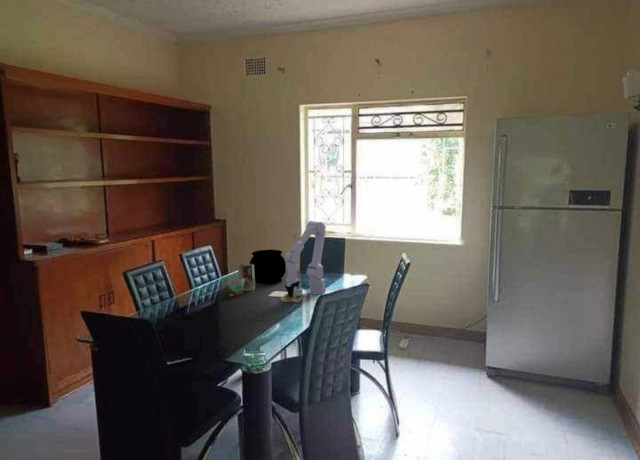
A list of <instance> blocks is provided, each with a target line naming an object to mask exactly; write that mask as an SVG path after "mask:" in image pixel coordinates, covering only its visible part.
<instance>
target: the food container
mask: <svg viewBox="0 0 640 460" xmlns="http://www.w3.org/2000/svg"><path fill="white" fill-rule="evenodd" d="M244 282H245V280H244V278H243V277H241V279H239V278H237V279H233V280H227V282H226V285H227V287H228V288H227V289H228V294H229V297H231V298H237V297H241V296H243V295H244V291H243V288H244Z"/></svg>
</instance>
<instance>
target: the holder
mask: <svg viewBox="0 0 640 460" xmlns="http://www.w3.org/2000/svg"><path fill="white" fill-rule="evenodd" d="M287 297H289V295H288V293H287V294H285V295H284V296H283V297H280V299H279V301H280V302H286V303H300V302H301V301H303V300H304V299H305V297H306V294H305V293H300V295H299V296H297V299H289V298H287Z"/></svg>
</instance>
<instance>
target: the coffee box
mask: <svg viewBox="0 0 640 460" xmlns="http://www.w3.org/2000/svg"><path fill="white" fill-rule="evenodd" d="M237 268H238V269H237V270H238V279H241V277H243V278H244V280H245V282H244V288H243V292H247V291H249V292H252V291H255V289H256V282H255V272H254V264H250V263H243V264H242V263H240V264H239V265H238V267H237Z"/></svg>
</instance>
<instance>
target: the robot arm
mask: <svg viewBox="0 0 640 460" xmlns="http://www.w3.org/2000/svg"><path fill="white" fill-rule="evenodd" d="M325 231H326V225H325V224H324V222H322V221H313V220H310V221H308V222H307V224H306V225H305V230H304V232H302V235H301V237H300V239H299V240H298V241H296V242H294V243H293V246H292V247H291V249H290V250H289V251H288V252H286V254H285V256H284V260H285V263H286V274H287V277H286V279H285V282H286V285H284V288H285V289H286V292H288V295H289V296H288V298H289V297H293V291H294V287H295V286H296V287H297V290H299V289H298V288H299V286H300V280H299V278H298V266H297V263H298V262H299V259H300V254H301V253H302V251H304V248H305V246H304V245H305V243H306V242H308V239H309V238H310V237H311V235H314V237H315V239H314V245H313V252H312V259H311V262H310V263H309V264H308V267H307V269H306V276H307V277H308V281H309V291H308V292H307V294H308V295H321V294H322V295H324V293H326V292H327V291H326V280H325V279H324V278H323V277H324V267H323V265H322V263H321V262H322V258H323V250H324V244H325V237H326V233H325Z"/></svg>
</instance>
